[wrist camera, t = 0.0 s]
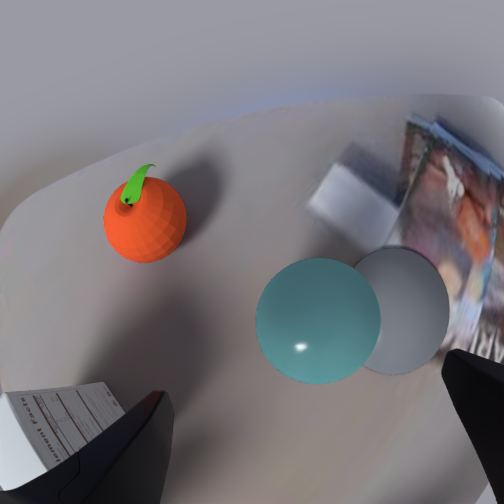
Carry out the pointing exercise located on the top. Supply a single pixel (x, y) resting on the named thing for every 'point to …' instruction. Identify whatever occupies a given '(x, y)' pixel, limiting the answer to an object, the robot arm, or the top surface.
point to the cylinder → (318, 320)
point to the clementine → (145, 218)
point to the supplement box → (50, 427)
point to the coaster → (405, 309)
